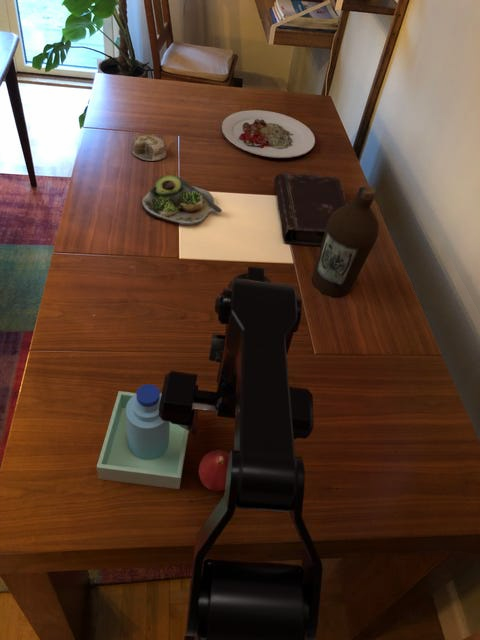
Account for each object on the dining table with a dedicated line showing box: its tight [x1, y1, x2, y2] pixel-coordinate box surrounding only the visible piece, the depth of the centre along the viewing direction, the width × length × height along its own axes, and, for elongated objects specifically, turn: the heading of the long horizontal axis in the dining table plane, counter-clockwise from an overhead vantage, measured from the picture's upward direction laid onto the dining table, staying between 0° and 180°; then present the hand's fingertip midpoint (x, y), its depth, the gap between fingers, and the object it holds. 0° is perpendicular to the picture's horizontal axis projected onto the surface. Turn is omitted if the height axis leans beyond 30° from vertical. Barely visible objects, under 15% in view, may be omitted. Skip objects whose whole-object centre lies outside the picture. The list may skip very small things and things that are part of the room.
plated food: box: [221, 109, 316, 159], centre depth 151 cm, size 30×30×3 cm
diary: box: [273, 172, 348, 247], centre depth 124 cm, size 19×25×5 cm
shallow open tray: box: [96, 390, 190, 490], centre depth 75 cm, size 13×12×5 cm
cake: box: [131, 134, 167, 162], centre depth 135 cm, size 10×10×5 cm
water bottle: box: [126, 383, 170, 460], centre depth 71 cm, size 6×6×14 cm
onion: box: [198, 449, 230, 492], centre depth 72 cm, size 6×6×8 cm
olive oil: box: [311, 184, 380, 298], centre depth 100 cm, size 11×11×25 cm
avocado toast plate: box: [140, 174, 223, 226], centre depth 120 cm, size 19×18×5 cm
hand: (229, 436), depth 65 cm, fingers open, 9 cm apart
